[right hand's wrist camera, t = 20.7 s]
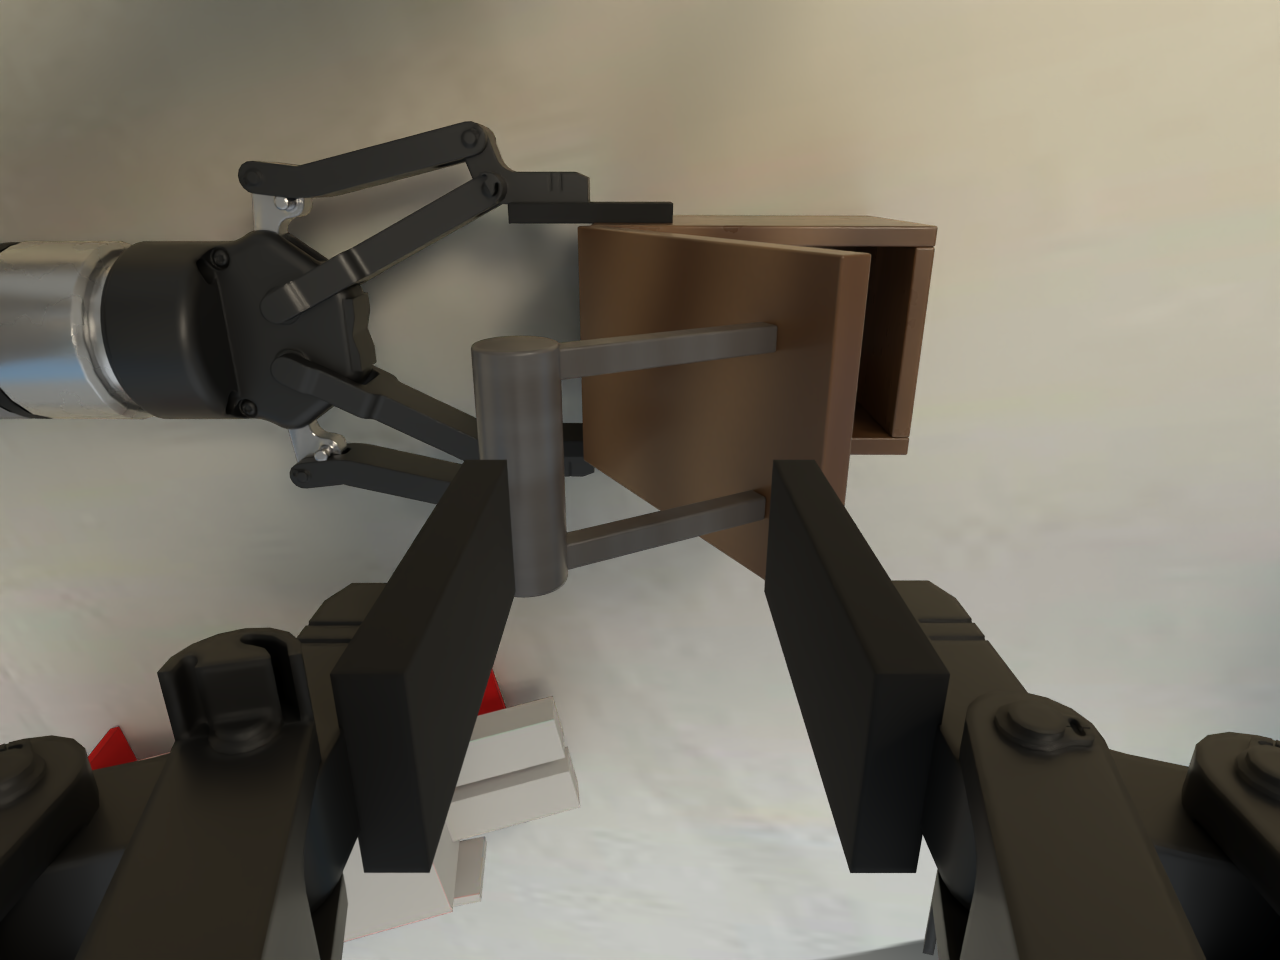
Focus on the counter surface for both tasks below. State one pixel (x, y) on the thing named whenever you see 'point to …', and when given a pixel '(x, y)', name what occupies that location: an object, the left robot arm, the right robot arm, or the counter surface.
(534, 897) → the counter surface
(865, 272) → the lid
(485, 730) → the toy
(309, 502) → the counter surface
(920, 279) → the brown hollow box
